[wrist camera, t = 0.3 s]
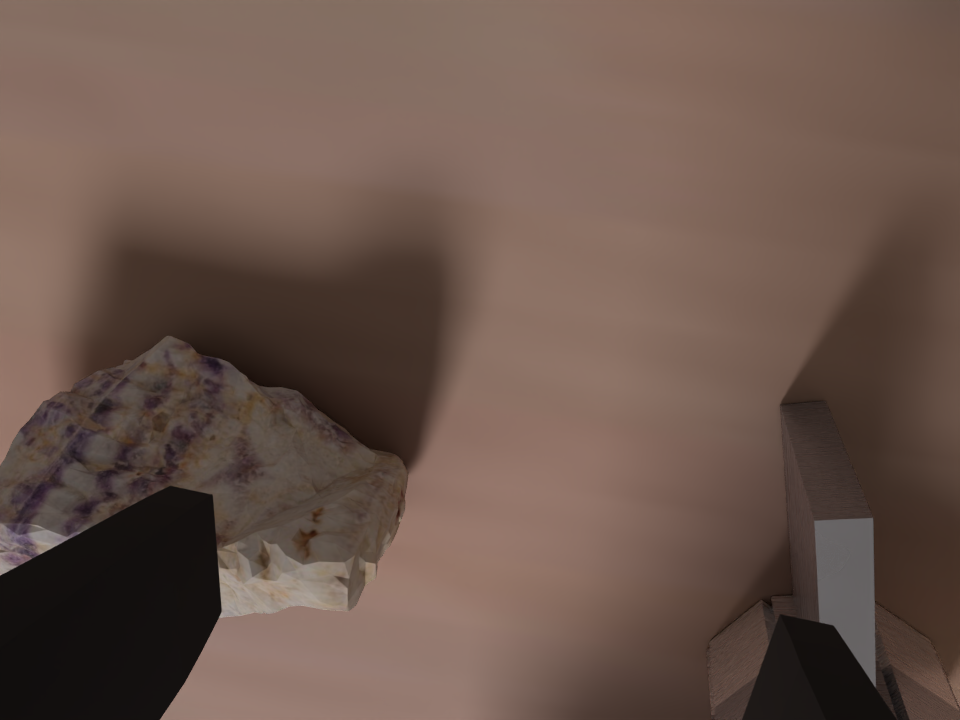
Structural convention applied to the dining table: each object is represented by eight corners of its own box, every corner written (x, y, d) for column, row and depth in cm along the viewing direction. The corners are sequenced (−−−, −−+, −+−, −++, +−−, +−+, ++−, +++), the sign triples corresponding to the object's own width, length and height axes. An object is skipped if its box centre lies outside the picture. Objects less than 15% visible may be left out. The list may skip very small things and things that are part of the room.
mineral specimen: (343, 254, 19) (217, 361, 14) (463, 486, 21) (396, 658, 16) (-4, 398, 24) (-205, 524, 18) (127, 578, 26) (-17, 739, 20)
